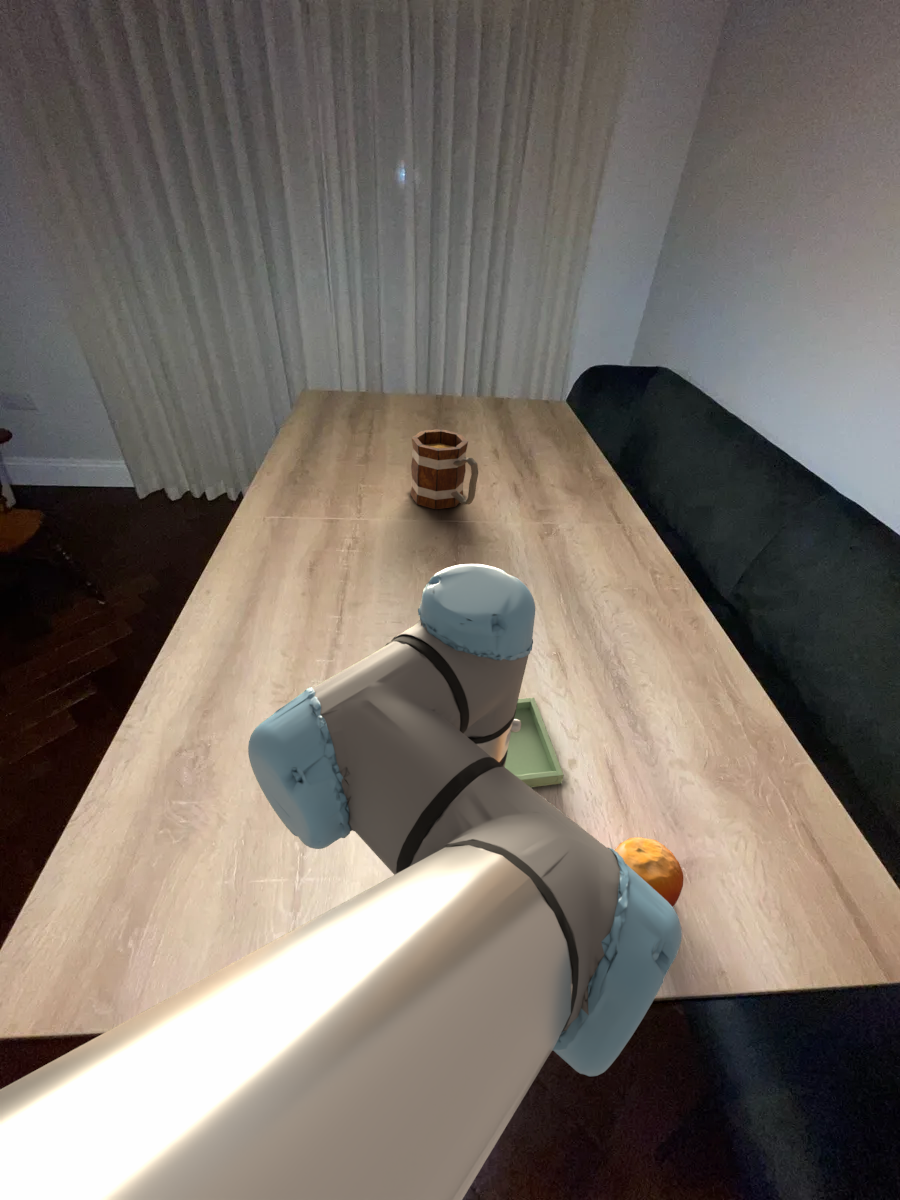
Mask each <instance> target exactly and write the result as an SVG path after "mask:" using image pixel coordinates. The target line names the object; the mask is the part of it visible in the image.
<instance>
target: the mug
mask: <svg viewBox="0 0 900 1200" xmlns="http://www.w3.org/2000/svg"><path fill="white" fill-rule="evenodd" d="M411 444H412V445H411V446H412V458H411V464H410V469H411V489H410V496H411V498H412V500H413V501H414V502H415V504H416V505H418V506H422V507H425V508H429V509H433V510H440V509H441V510H443V509H450V508H455V507H457V506H458V505H459V504H461V505H465V506H466V505H470V504H472V503H473V501H474V499H475V496H476V491H477V483H478V477H479V465H478V463H477V461H476V460H475V459H474V458H473V457H467V449H468V445H469V441H468V439H466V437H464V435H463V434H462V433H459V432H457V431H456V432H455V431H452V430H446V429H443V428H442V429H441V428H439V429H426V430H425V429H424V430H420V431H419V432H417V433H416V434H414V435H413V436H411ZM466 464H468V465H469V466H470V479H469V483H468V491H467V492H468V493H467V498H466V497H465V496H464V483H465V482H464V481H465V476H466Z"/></svg>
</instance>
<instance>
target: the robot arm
mask: <svg viewBox="0 0 900 1200" xmlns="http://www.w3.org/2000/svg"><path fill="white" fill-rule="evenodd" d="M417 614H418V615H417V616H418V617H419V620H418V621H417V623H416V624H414V625H412V626H411V627H409V628H407V629H405V630H404V631H402V632H401V633H399V634H398V635H395V636H394V637H393V638H392V639H391V640H390V641H389V642H387V643H386V644H385V645H384V646H383V647H381V648H380V649H377V650H376V651H374V652H372V653H371V654H369V655H367V656H365V657H364V658H362V659H360V660H359V661H357V662H355V663H353V664H351V665H349V666H347V667H346V668H344V669H343V670H341V671H339V672H337V673H335V674H334V675H332V676H330V677H328V678H327V679H325V680H323V681H321V682H320V683H318V684H316V685H314V686H310V687H308V688H306V689H305V690H304V691H303V692H302V693H300V694H298V695H297V696H296V697H294V698H293V699H292V700H290V701H288V702H287V703H285V704H284V705H283V706H282V707H280V708H278V709H277V710H276V711H275V712H273V714H271V715H270V716H269V717H267V718H266V719H265V720H264V721H262V722H260V723H259V724H258V725H257V726H255V728H254V729H253V731H252V732H251V735H250V736H249V740H248V745H247V753H248V754H247V755H248V759H249V763H250V766H251V770H252V772H253V775H254V777H255V779H256V781H257V783H258V786H259V787H260V788H261V791H262V793H263V795H264V797H265V798H266V800H267V802H268V803H269V805H270V806H271V808H272V809H273V811H274V812H275V814H276V815H277V816H278V818H279V820H280V821H281V822H282V823H283V825H284V826H285V827H286V828H287V830H288V831H289V832H290V833H291V834H292V835H293V836H294V837H298V839H299V840H300V842H302V843H303V844H304V846H307V847H308V848H310V849H314V850H322V849H325V848H328V847H329V846H331V845H332V844H334V843H335V842H337V841H338V840H340V839H346V838H347V837H348V836H349V835H350V834H351V832H355V833H356V835H357V836H358V837H359V838H361V840H362V841H363V842H364V843H365V845H367V846H368V848H369V849H370V850H371V851H372V852H373V853H374V854H375V855H376V856H377V858H378V859H379V860H380V861H381V862H382V863H383V865H385V866H386V867H387V869H388V870H389V871H390V872H391V873H392V874H393V875H391V876H390V877H388V878H386V879H384V880H382V881H381V882H379V883H377V884H375V885H373V886H371V887H369V888H367V889H365V890H364V891H362V892H360V893H359V894H357V895H355V896H352V897H351V898H349V899H347V900H345V901H344V902H342V903H340V904H339V905H336V906H335V907H333V908H331V909H329V910H327V911H325V912H324V913H322V914H320V915H318V916H317V917H314V918H312V919H310V920H309V921H307V922H305V923H303V924H302V925H300V926H298V927H296V928H294V929H292V930H291V931H288V932H287V933H285V934H284V935H281V936H280V937H278V938H276V939H273V940H272V941H271V942H268V943H267V944H265V945H262V946H261V947H260V948H258V949H256V950H253V951H252V952H250V953H247V954H246V955H244V956H243V957H241V958H239V959H238V960H237V959H236V960H235V961H234V962H232V963H230V964H228V965H226V966H225V967H223V968H220V969H219V970H217V971H216V972H213V973H212V974H209V975H208V976H206V977H204V978H203V979H200V980H198V981H197V982H195V983H193V984H191V985H190V986H188V987H186V988H184V989H182V990H180V991H178V992H176V993H175V994H173V995H171V996H170V997H167V998H166V999H164V1000H162V1001H160V1002H158V1003H157V1004H155V1005H153V1006H152V1007H149V1008H147V1009H146V1010H143V1011H142V1012H140V1013H138V1014H136V1015H134V1016H132V1017H131V1018H129V1019H127V1020H125V1021H124V1022H122V1023H120V1024H118V1025H116V1026H115V1027H112V1028H111V1029H109V1030H107V1031H105V1032H104V1033H102V1034H100V1035H98V1036H96V1037H94V1038H92V1039H90V1040H88V1041H87V1042H85V1043H82V1044H81V1045H79V1046H77V1047H75V1048H74V1049H72V1050H70V1051H69V1052H67V1053H65V1054H63V1055H61V1056H60V1057H57V1058H56V1059H54V1060H52V1061H50V1062H48V1063H47V1064H45V1065H43V1066H41V1067H39V1068H38V1069H36V1070H34V1071H31V1072H29V1073H28V1074H26V1075H24V1076H22V1077H21V1078H19V1079H17V1080H15V1081H13V1082H11V1083H9V1084H8V1085H6V1086H4V1087H2V1088H0V1200H463V1199H464V1198H465V1196H466V1194H467V1192H468V1191H469V1189H470V1187H471V1186H472V1184H473V1183H474V1182H475V1179H476V1177H477V1176H478V1174H479V1173H480V1171H481V1169H482V1167H484V1164H485V1162H486V1161H487V1159H488V1158H489V1156H490V1155H491V1153H492V1151H493V1149H494V1148H495V1146H496V1145H497V1143H498V1141H499V1140H500V1138H501V1136H502V1134H503V1133H504V1132H505V1129H506V1127H507V1126H508V1124H509V1123H510V1122H511V1120H512V1118H513V1117H514V1115H515V1113H516V1112H517V1109H518V1108H519V1106H520V1105H521V1103H522V1101H523V1100H524V1098H525V1096H526V1095H527V1093H528V1092H529V1089H530V1088H531V1086H532V1084H533V1083H534V1081H535V1080H536V1078H537V1077H538V1075H539V1073H540V1071H541V1070H542V1068H543V1066H544V1064H545V1063H546V1061H547V1060H548V1058H549V1056H550V1055H551V1053H552V1052H554V1053H555V1054H556V1055H558V1056H559V1057H560V1058H561V1059H562V1060H563V1061H564V1062H565V1063H566V1064H568V1065H569V1066H570V1067H571V1068H572V1069H573V1070H574V1071H575V1072H577V1073H579V1074H580V1075H585V1076H587V1077H597V1076H599V1075H602V1074H603V1073H605V1072H606V1071H607V1070H608V1069H609V1068H610V1067H611V1066H612V1064H613V1063H614V1062H615V1061H616V1059H617V1058H618V1057H619V1056H620V1054H621V1053H622V1052H623V1050H624V1048H625V1047H626V1045H627V1044H628V1043H629V1041H630V1040H631V1039H632V1037H633V1035H634V1033H635V1032H636V1030H637V1029H638V1027H639V1026H640V1024H641V1022H642V1021H643V1019H644V1018H645V1016H646V1014H647V1012H648V1011H649V1009H650V1007H651V1006H652V1004H653V1003H654V1000H655V998H656V997H657V995H658V993H659V992H660V989H661V988H662V986H663V984H664V981H665V980H664V979H665V977H666V975H667V974H668V972H669V970H670V968H671V966H672V964H673V963H674V961H675V960H676V958H677V955H678V953H679V950H680V948H681V944H682V937H683V930H682V929H683V928H682V925H681V920H680V918H679V915H678V914H677V911H676V910H675V908H674V906H673V907H672V906H671V905H670V904H669V902H668V901H667V900H665V899H664V898H663V897H662V896H661V895H660V894H659V893H658V892H657V891H655V890H654V889H653V888H652V887H651V886H650V885H649V884H648V883H647V882H646V881H644V880H643V879H642V878H641V877H640V876H639V875H638V874H637V873H636V872H634V871H633V870H632V869H631V868H630V867H629V866H628V865H627V864H626V863H625V861H624V860H623V858H622V857H621V856H620V855H619V854H618V853H617V852H616V851H615V849H613V848H611V847H606V845H604V843H602V842H601V841H600V840H598V839H597V838H596V837H594V836H593V835H591V834H590V833H589V832H588V831H586V829H584V828H582V827H581V826H580V824H578V823H577V822H575V821H574V820H572V819H571V818H570V817H569V816H567V815H566V814H565V813H564V812H562V811H561V810H560V809H559V808H557V807H556V806H555V805H554V804H552V803H551V802H550V801H548V800H547V799H546V798H545V797H543V796H542V795H541V794H539V793H538V792H537V791H536V790H534V789H533V787H529V786H528V785H527V784H525V783H524V782H523V781H522V780H520V779H519V778H518V777H516V776H515V775H514V774H513V773H511V772H510V771H509V770H508V769H506V768H505V762H506V758H507V752H508V745H509V740H510V735H511V731H512V732H518V731H519V730H520V729H521V722H520V720H518V719H514V717H515V713H516V708H517V702H518V699H519V697H520V693H521V689H522V685H523V680H524V678H525V677H524V676H525V672H526V668H527V664H528V659H529V656H530V654H531V652H532V650H533V644H534V639H533V637H534V626H535V620H536V619H535V618H536V603H535V600H534V597H533V594H532V593H531V591H530V589H529V588H528V587H527V585H526V584H525V583H524V582H522V580H521V579H519V578H518V577H516V576H514V575H511V574H509V573H507V572H506V571H505V570H504V569H501V568H499V567H495V566H492V565H487V564H481V563H464V564H463V563H461V564H456V565H452V566H449V567H448V566H447V567H446V568H444V569H441V570H439V571H438V572H436V573H434V575H432V576H431V577H430V578H429V581H428V582H427V583H426V584H425V586H424V587H423V591H422V594H421V600H420V603H419V608H417Z"/></svg>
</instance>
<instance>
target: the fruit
mask: <svg viewBox="0 0 900 1200" xmlns="http://www.w3.org/2000/svg"><path fill="white" fill-rule="evenodd" d="M614 850H615V851H616V852H617V853H618V854H619V855H620V856H621V857H622V858H623V860H624V861H625V863H626V864H627V865H628V866H629V867H630V868H631V869H632V870H633V871H634V872H636V873H637V874H638V875H639V876H640V877H641V878H642V879H643V880H644V881H646V882H647V883H648V884H649V885H650V886H651V887H652V888H653V889H654V890H655V891H657V892H658V893H659V894H660V895H661V896H662V897H663V898H664V899H665V900H667V901H668V902H669V904H670V905H671V906H672V907H673V908H674V906H675V905H676V903H677V902H678V900H679V898H680V895H681V893H682V890H683V887H684V872H683V869H682V867H681V864H680V862H679V861H678V859H677V857H676V856H675V854H674V853H673V852H672V851H671V849H668V847H666V845H664V844H663V843H661V842H659V841H658V840H656V839H652V838H645V837H642V836H641V837H640V836H637V837H636V836H635V837H628V839H626V840H624V841H621V842H620V843H619V844H618V845H617V847H616V848H615V849H614Z"/></svg>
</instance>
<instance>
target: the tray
mask: <svg viewBox="0 0 900 1200" xmlns="http://www.w3.org/2000/svg"><path fill="white" fill-rule="evenodd" d="M514 719H518V720H520V722H521V729H520V730H519V731H518V732H512V731H511V735H510V740H509V745H508V752H507V758H506V762H505V768H506V769H508V770H509V771H510V772H511V773H513V774H514V775H515V776H516V777H518V778H519V779H520V780H522V781H523V782H524V783H525V784H527V785H528V786H529V787H530V788H535V787H544V786H551V785H552V786H553V785H560V784H561V785H562V782H563V779H564V772H563V770H562V768H561V767H562V766H561V764H560V762H559V759H558V757H557V754H556V752H555V749H554V746H553V744H552V741H551V738H550V736H549V733H548V731H547V730H548V729H547V727H546V724H545V723H544V720H543V716H542V715H541V712H540V709H539V707H538V704H537V701H536V699H535V697H524V698H518V702H517V708H516V713H515V717H514Z"/></svg>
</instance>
